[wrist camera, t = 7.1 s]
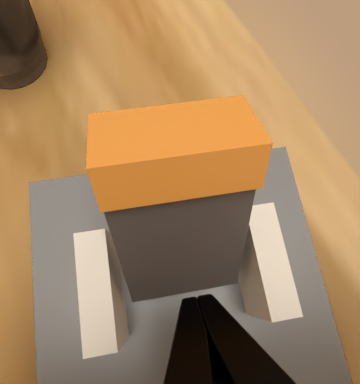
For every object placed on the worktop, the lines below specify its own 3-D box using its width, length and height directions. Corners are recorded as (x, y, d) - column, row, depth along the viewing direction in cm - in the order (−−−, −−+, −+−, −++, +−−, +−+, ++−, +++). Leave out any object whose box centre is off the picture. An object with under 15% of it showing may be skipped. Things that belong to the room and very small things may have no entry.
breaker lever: (238, 299, 14) (272, 143, 8) (135, 317, 14) (85, 168, 7) (223, 254, 16) (243, 95, 10) (131, 269, 15) (88, 114, 9)
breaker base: (326, 370, 17) (416, 417, 11) (58, 427, 16) (-8, 515, 10) (270, 163, 20) (316, 111, 14) (45, 195, 19) (-9, 153, 13)
